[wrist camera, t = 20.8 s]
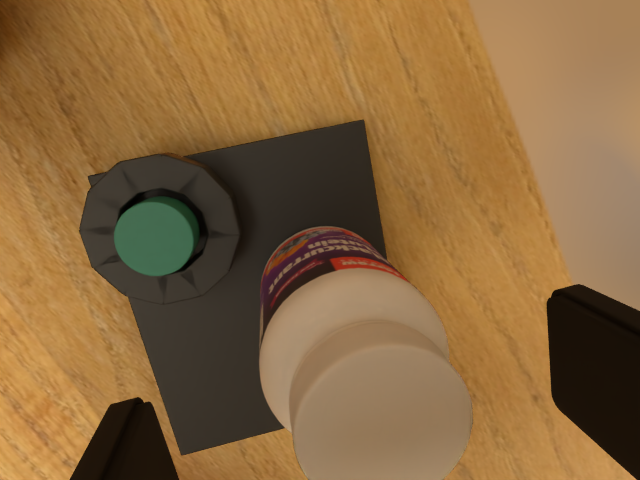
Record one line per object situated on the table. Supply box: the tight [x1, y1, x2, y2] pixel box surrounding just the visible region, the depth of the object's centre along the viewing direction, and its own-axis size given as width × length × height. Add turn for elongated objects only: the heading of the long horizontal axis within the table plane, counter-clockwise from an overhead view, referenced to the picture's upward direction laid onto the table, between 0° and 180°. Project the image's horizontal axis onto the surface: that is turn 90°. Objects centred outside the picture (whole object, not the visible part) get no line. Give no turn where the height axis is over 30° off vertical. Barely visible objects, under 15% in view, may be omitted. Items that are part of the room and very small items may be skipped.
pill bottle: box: [259, 226, 473, 480], centre depth 14 cm, size 5×5×10 cm
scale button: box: [114, 196, 200, 276], centre depth 15 cm, size 3×3×2 cm
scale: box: [79, 120, 387, 455], centre depth 18 cm, size 13×11×3 cm
